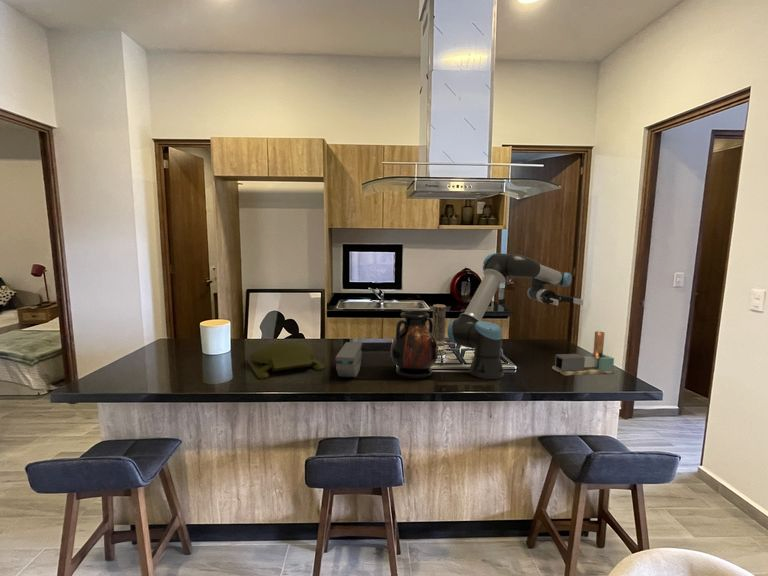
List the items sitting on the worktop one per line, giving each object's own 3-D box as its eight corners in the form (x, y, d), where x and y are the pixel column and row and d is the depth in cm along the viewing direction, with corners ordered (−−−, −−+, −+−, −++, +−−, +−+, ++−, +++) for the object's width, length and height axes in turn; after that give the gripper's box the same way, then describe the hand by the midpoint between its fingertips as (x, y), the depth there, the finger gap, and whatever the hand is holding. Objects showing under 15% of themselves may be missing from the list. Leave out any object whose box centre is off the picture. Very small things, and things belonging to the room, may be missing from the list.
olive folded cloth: (326, 370, 191) (326, 350, 189) (259, 381, 176) (258, 359, 175) (303, 352, 221) (303, 334, 220) (244, 359, 206) (243, 340, 205)
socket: (601, 370, 191) (602, 358, 190) (588, 364, 200) (589, 353, 199) (613, 370, 192) (614, 358, 191) (599, 364, 201) (600, 352, 200)
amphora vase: (420, 363, 202) (421, 307, 198) (447, 376, 183) (449, 315, 180) (381, 370, 192) (382, 311, 188) (406, 384, 173) (407, 319, 169)
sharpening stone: (353, 382, 175) (353, 357, 173) (335, 381, 175) (335, 357, 174) (361, 364, 199) (362, 342, 198) (345, 363, 200) (345, 342, 199)
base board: (564, 375, 187) (564, 372, 187) (552, 368, 197) (552, 366, 197) (613, 373, 191) (613, 370, 191) (598, 366, 201) (599, 364, 201)
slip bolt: (576, 367, 191) (578, 334, 189) (571, 365, 195) (573, 332, 193) (604, 366, 194) (607, 333, 192) (598, 363, 198) (601, 331, 196)
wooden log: (443, 348, 231) (445, 304, 227) (444, 351, 224) (446, 306, 221) (431, 347, 231) (433, 304, 228) (432, 351, 224) (433, 306, 221)
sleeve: (562, 371, 189) (563, 358, 188) (554, 367, 195) (555, 354, 194) (583, 370, 191) (584, 357, 190) (575, 366, 197) (576, 353, 196)
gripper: (566, 302, 231) (591, 309, 210) (525, 303, 226) (546, 310, 206) (567, 289, 230) (592, 295, 209) (526, 290, 225) (547, 295, 205)
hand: (570, 302), depth 207 cm, fingers open, 13 cm apart
